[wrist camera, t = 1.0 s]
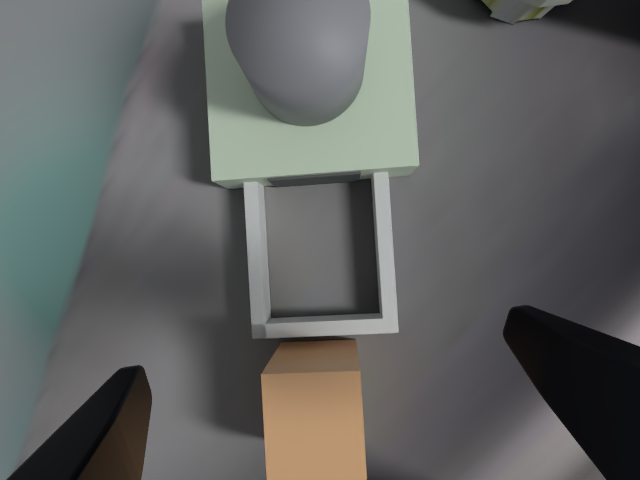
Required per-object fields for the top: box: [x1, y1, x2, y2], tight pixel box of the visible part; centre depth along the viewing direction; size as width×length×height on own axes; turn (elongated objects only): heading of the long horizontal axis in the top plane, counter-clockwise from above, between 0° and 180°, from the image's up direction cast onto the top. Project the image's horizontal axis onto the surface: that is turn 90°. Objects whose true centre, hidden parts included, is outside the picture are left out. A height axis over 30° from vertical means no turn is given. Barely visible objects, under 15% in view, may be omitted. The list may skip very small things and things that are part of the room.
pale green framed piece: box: [202, 0, 419, 339], centre depth 17 cm, size 19×11×6 cm, turn 3°
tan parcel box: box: [261, 339, 367, 480], centre depth 17 cm, size 6×4×5 cm
